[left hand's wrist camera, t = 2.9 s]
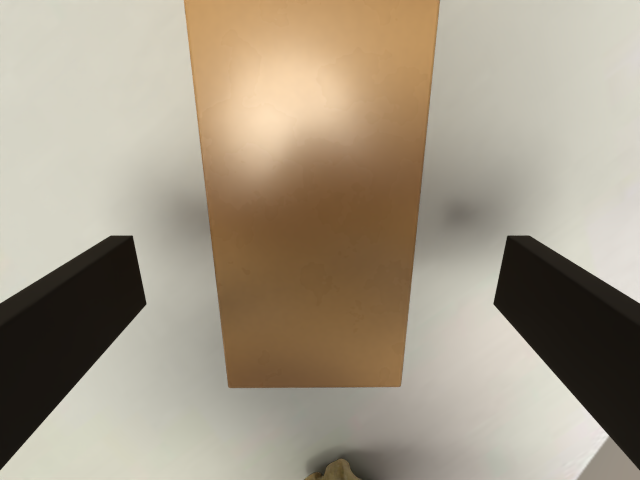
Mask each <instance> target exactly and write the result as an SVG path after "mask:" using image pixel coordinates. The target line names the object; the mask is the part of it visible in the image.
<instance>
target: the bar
mask: <svg viewBox="0 0 640 480" xmlns="http://www.w3.org/2000/svg"><path fill="white" fill-rule="evenodd" d="M439 5H440V0H184V6H185V15H186V23H187V32H188V41H189V50H190V58H191V67H192V76H193V84H194V93H195V102H196V110H197V119H198V128H199V136H200V145H201V154H202V163H203V171H204V180H205V189H206V197H207V206H208V215H209V223H210V232H211V241H212V250H213V258H214V267H215V276H216V284H217V293H218V302H219V310H220V319H221V328H222V337H223V345H224V354H225V363H226V371H227V380H228V387H229V388H310V387H400V386H401V380H402V370H403V361H404V351H405V341H406V331H407V321H408V311H409V301H410V291H411V282H412V272H413V262H414V252H415V242H416V232H417V222H418V212H419V203H420V193H421V183H422V173H423V163H424V153H425V143H426V133H427V123H428V114H429V104H430V94H431V84H432V74H433V64H434V54H435V44H436V35H437V25H438V15H439Z"/></svg>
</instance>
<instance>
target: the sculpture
mask: <svg viewBox="0 0 640 480" xmlns="http://www.w3.org/2000/svg"><path fill="white" fill-rule="evenodd" d="M304 480H361V479H360V478H357V477H356V476H355V475H354V474H353V473H352V471H351V469H350V465H349V463H348V461H346V460H345V459H338V460H336V461H334V462H332V463H330V464H329V465H328V466H327V467H326V470H325V474H324V476H323V475H322V474H321V473H320V472H315V473H313V474H311V475H309V476H308V477H307V478H305V479H304Z"/></svg>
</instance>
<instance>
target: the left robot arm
mask: <svg viewBox="0 0 640 480" xmlns="http://www.w3.org/2000/svg"><path fill="white" fill-rule="evenodd" d="M145 305H146V299H145V294H144V289H143V284H142V279H141V274H140V269H139V265H138V260H137V255H136V250H135V245H134V240H133V236H109V237H108V238H106V239H104V240H103V241H101V242H100V243H98V244H96V245H95V246H93V247H91V248H90V249H88V250H87V251H85V252H83V253H82V254H80V255H78V256H77V257H75V258H74V259H72V260H70V261H69V262H67V263H65V264H64V265H62V266H61V267H59V268H57V269H56V270H54V271H52V272H51V273H49V274H48V275H46V276H44V277H43V278H41V279H39V280H38V281H36V282H34V283H33V284H31V285H30V286H28V287H26V288H25V289H23V290H21V291H20V292H18V293H17V294H15V295H13V296H12V297H10V298H8V299H7V300H5V301H4V302H2V303H0V470H1V469H2V468H3V467H4V465H5V464H6V463H7V462H8V461H9V460H10V459H11V457H12V456H13V455H14V454H15V453H16V452H17V451H18V450H19V448H20V447H21V446H22V445H23V444H24V443H25V442H26V440H27V439H28V438H29V437H30V436H31V435H32V434H33V432H34V431H35V430H36V429H37V428H38V427H39V426H40V425H41V423H42V422H43V421H44V420H45V419H46V418H47V417H48V415H49V414H50V413H51V412H52V411H53V410H54V409H55V407H56V406H57V405H58V404H59V403H60V402H61V401H62V400H63V398H64V397H65V396H66V395H67V394H68V393H69V392H70V390H71V389H72V388H73V387H74V386H75V385H76V384H77V382H78V381H79V380H80V379H81V378H82V377H83V376H84V375H85V373H86V372H87V371H88V370H89V369H90V368H91V367H92V365H93V364H94V363H95V362H96V361H97V360H98V359H99V358H100V356H101V355H102V354H103V353H104V352H105V351H106V350H107V348H108V347H109V346H110V345H111V344H112V343H113V342H114V340H115V339H116V338H117V337H118V336H119V335H120V334H121V333H122V331H123V330H124V329H125V328H126V327H127V326H128V325H129V323H130V322H131V321H132V320H133V319H134V318H135V317H136V315H137V314H138V313H139V312H140V311H141V310H142V309H143V308H144V306H145ZM494 305H495V306H496V308H497V309H498V310H499V311H500V312H501V313H502V314H503V315H504V317H505V318H506V319H507V320H508V321H509V322H510V323H511V325H512V326H513V327H514V328H515V329H516V330H517V331H518V333H519V334H520V335H521V336H522V337H523V338H524V339H525V340H526V342H527V343H528V344H529V345H530V346H531V347H532V348H533V350H534V351H535V352H536V353H537V354H538V355H539V356H540V358H541V359H542V360H543V361H544V362H545V363H546V364H547V365H548V367H549V368H550V369H551V370H552V371H553V372H554V373H555V375H556V376H557V377H558V378H559V379H560V380H561V381H562V383H563V384H564V385H565V386H566V387H567V388H568V389H569V390H570V392H571V393H572V394H573V395H574V396H575V397H576V398H577V400H578V401H579V402H580V403H581V404H582V405H583V406H584V407H585V409H586V410H587V411H588V412H589V413H590V414H591V415H592V417H593V418H594V419H595V420H596V421H597V422H598V423H599V425H600V426H601V427H602V428H603V429H604V430H605V431H606V432H607V434H608V435H609V436H610V437H611V438H612V439H613V440H614V442H615V443H616V444H617V445H618V446H619V447H620V448H621V450H622V451H623V452H624V453H625V454H626V455H627V456H628V457H629V459H630V460H631V461H632V462H633V463H634V464H635V465H636V467H637V468H638V469H639V470H640V303H638V302H636V301H635V300H633V299H632V298H630V297H628V296H627V295H625V294H623V293H622V292H620V291H619V290H617V289H615V288H614V287H612V286H610V285H609V284H607V283H606V282H604V281H602V280H601V279H599V278H597V277H596V276H594V275H592V274H591V273H589V272H588V271H586V270H584V269H583V268H581V267H579V266H578V265H576V264H575V263H573V262H571V261H570V260H568V259H566V258H565V257H563V256H562V255H560V254H558V253H557V252H555V251H553V250H552V249H550V248H549V247H547V246H545V245H544V244H542V243H540V242H539V241H537V240H536V239H534V238H532V237H531V236H507V240H506V245H505V250H504V255H503V260H502V265H501V269H500V274H499V279H498V284H497V289H496V294H495V299H494Z"/></svg>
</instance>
